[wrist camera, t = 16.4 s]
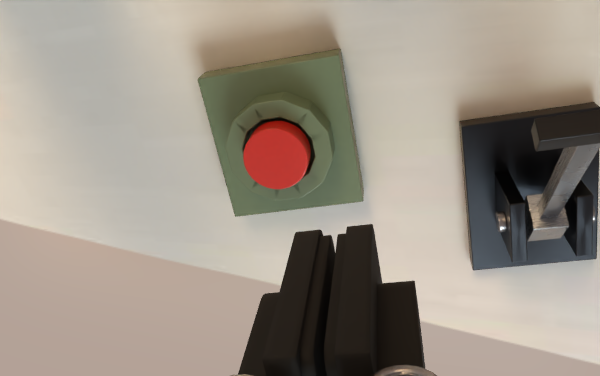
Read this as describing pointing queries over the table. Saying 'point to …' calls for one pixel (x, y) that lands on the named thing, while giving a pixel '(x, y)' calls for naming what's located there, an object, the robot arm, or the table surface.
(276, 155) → the button
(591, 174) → the bracket
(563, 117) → the lever
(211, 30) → the table surface
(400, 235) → the table surface
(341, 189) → the control block
